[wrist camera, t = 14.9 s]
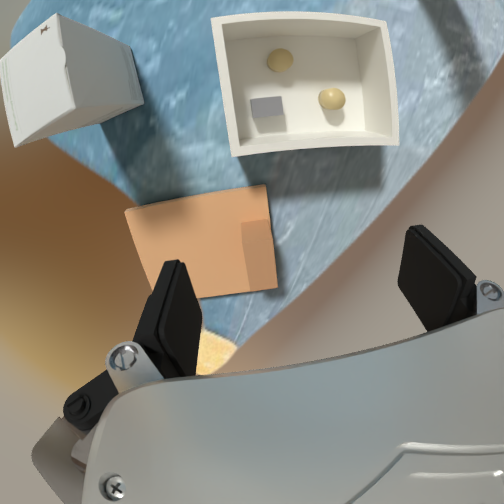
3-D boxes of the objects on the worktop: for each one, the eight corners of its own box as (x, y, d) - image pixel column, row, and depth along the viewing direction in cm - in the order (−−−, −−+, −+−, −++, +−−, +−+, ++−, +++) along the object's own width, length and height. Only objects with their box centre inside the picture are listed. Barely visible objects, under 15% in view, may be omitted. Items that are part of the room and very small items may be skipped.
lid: (264, 181, 31) (271, 201, 25) (275, 278, 37) (282, 312, 31) (129, 206, 31) (107, 230, 25) (160, 293, 38) (149, 327, 32)
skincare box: (85, 67, 21) (-5, 58, 8) (134, 43, 21) (58, 6, 7) (99, 126, 25) (10, 152, 12) (149, 105, 25) (74, 108, 12)
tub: (357, 35, 22) (386, 21, 15) (368, 136, 28) (399, 145, 22) (216, 38, 22) (210, 18, 16) (232, 146, 28) (231, 157, 22)
